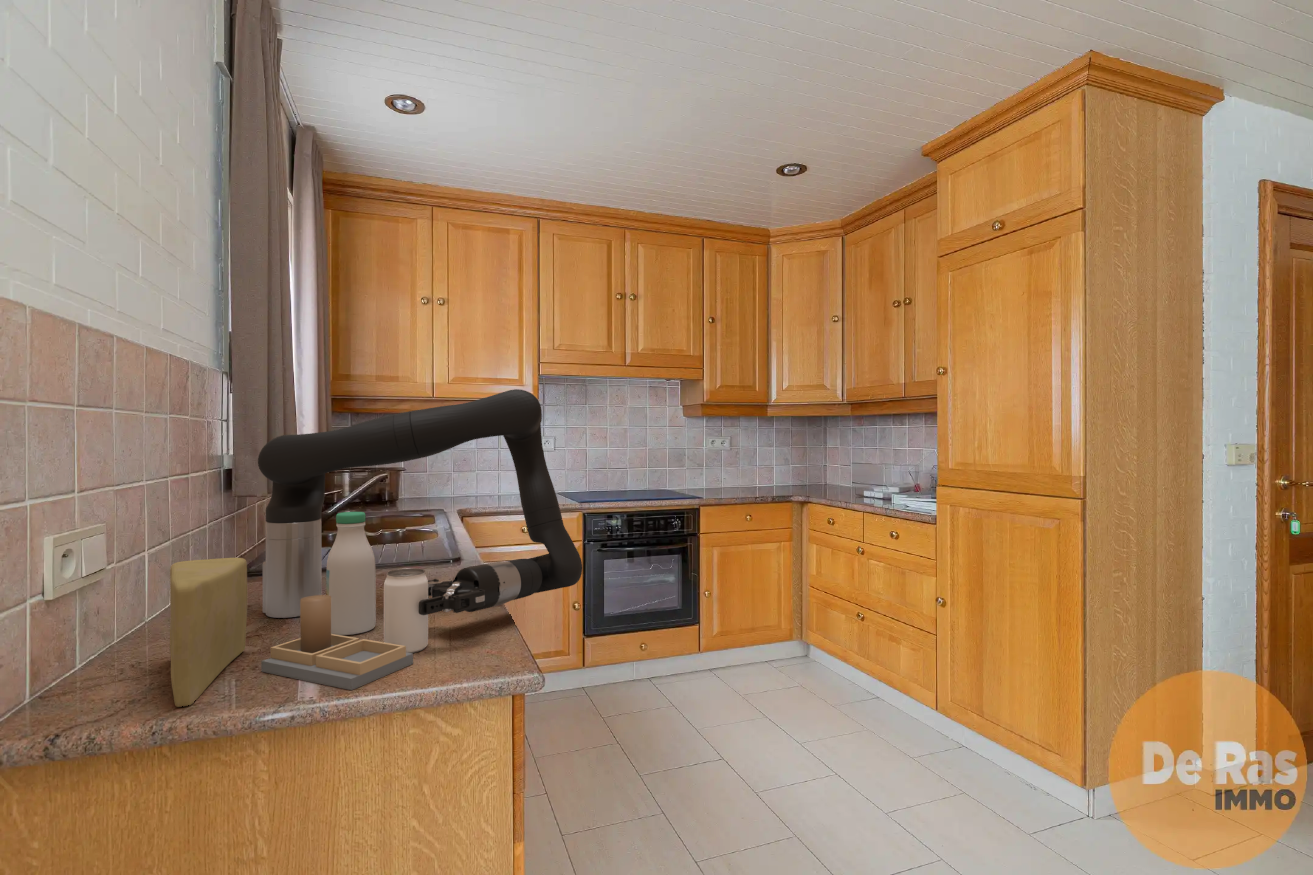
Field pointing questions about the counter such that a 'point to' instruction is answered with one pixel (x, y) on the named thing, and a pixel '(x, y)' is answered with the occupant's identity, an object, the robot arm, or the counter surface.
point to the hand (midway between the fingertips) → (404, 603)
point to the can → (405, 609)
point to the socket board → (332, 652)
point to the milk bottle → (351, 577)
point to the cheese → (205, 622)
